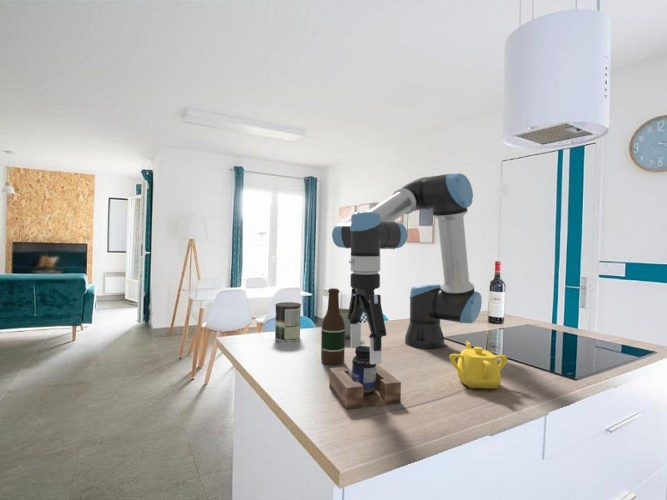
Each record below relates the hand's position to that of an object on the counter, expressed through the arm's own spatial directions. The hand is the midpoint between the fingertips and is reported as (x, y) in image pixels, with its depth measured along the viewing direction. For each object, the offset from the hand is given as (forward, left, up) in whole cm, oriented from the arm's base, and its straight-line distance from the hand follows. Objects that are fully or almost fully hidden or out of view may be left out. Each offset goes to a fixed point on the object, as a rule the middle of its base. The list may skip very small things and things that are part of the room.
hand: (364, 355), depth 94 cm
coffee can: (+9, -60, -10) cm, 61 cm away
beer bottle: (0, -27, -10) cm, 29 cm away
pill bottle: (0, 0, -9) cm, 9 cm away
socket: (0, 0, -10) cm, 10 cm away
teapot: (-34, +1, -10) cm, 35 cm away
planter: (-13, -58, -10) cm, 60 cm away
